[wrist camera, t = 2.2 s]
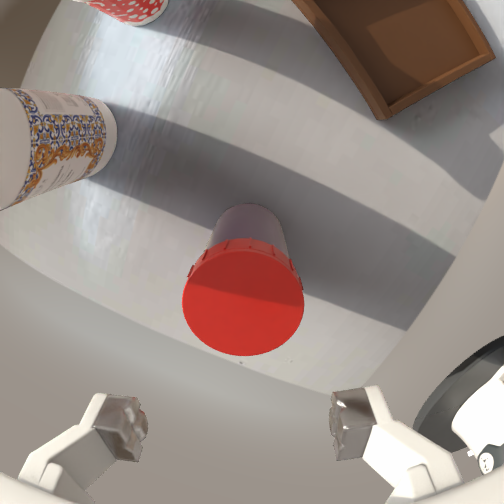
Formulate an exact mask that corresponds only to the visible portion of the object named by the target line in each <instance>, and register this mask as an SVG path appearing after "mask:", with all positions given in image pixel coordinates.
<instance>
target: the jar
mask: <svg viewBox="0 0 504 504" xmlns="http://www.w3.org/2000/svg"><path fill="white" fill-rule="evenodd" d="M250 237H251V238H252V239H255V240H259V241H263V242H266V243H268V244H270V245H272V244H273V245H274V246H275V247H276V248H277V249H279V250H280V251H281V252H283V253H284V254H285V255H286V256H287V257H288V259H290V258H289V254H288V250H287V246H286V242H285V238H284V234H283V231H282V227H281V224H280V222H279V220H278V219H277V217H276V216H275V215H274V214H273V213H272V212H271V211H270V210H268V209H267V208H265V207H263V206H261V205H257V204H252V203H243V204H238V205H235V206H233V207H231V208H229V209H227V210H226V211H225V212H224V213H223V214H222V215H221V216H220V217H219V219H218V220H217V222H216V224H215V227H214V229H213V231H212V234H211V236H210V238H209V241H208V243H207V245H206V248H205V250H206V249H210V248H211V247H213V246H215V245H216V244H219V243H221V242H223V241H225V240H226V239H228V240H231V239H238V238H248V239H249V238H250ZM205 250H204V252H205ZM204 252H203V253H204Z"/></svg>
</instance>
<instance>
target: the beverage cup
mask: <svg viewBox="0 0 504 504" xmlns="http://www.w3.org/2000/svg"><path fill="white" fill-rule="evenodd" d="M71 1H78V2H84V3H86V4H88V5H90V6H92V7H94V8H96V9H98V10H100V11H102V12H104V13H106V14H108V15H109V16H111V17H113V18H115V19H117V20H119V21H121V22H122V23H124V24H127V25H131V26H140V25H145V24H147V23H150V22H152V21H154V20H155V19H156V18H157V17H159V16H160V15H161V14H162V13H163V12H164V10H165V8H166V7H167V5H168V0H71Z"/></svg>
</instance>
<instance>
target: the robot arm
mask: <svg viewBox="0 0 504 504" xmlns="http://www.w3.org/2000/svg"><path fill="white" fill-rule="evenodd" d="M331 402H332V407H331V408H330V412H329V424H330V431H331V435H332V436H334V437H335V440H334V445H333V446H334V450H335V454H336V459H337V461H341V460H348V459H354V458H360V457H362V459H363V460H365V461H366V462H367V463H368V464H369V465H370V466H371V467H372V468H373V469H374V470H376V472H378V473H379V474H380V475H381V476H382V477H383V478H384V479H385V480H386V481H387V482H389V483H390V484H391V485H392V486H393V487H394V488H395V489H394V491H393V492H392V494H391V495H390V497H389V498H388V500H387V501H386V503H385V504H504V365H503V366H502V367H501V368H500V369H499V370H498V371H497V372H496V374H495V375H494V376H493V377H492V378H491V379H490V380H489V381H488V382H487V383H486V384H484V385H483V386H482V387H481V388H479V389H478V390H477V391H476V392H475V393H474V394H473V395H472V396H471V397H470V398H469V399H468V400H467V401H466V402H465V403H464V404H463V405H462V407H461V408H460V409H459V411H458V412H457V414H456V415H455V417H454V419H453V421H452V426H451V428H452V431H453V432H454V433H456V434H457V435H458V436H459V437H460V438H461V439H462V440H463V441H464V442H465V444H466V445H467V446H468V447H469V449H470V450H471V451H469V452H468V454H469V456H471V455H473V454H474V456H475V457H476V459H477V461H478V464H479V468H480V471H481V473H482V476H480V477H478V478H476V479H474V480H471V481H469V482H467V483H464V481H463V479H462V476H461V474H460V472H459V469H458V467H457V465H456V463H455V461H454V458H453V456H452V454H451V453H450V452H449V451H447V450H445V449H444V448H442V447H440V446H439V445H437V444H435V443H434V442H432V441H431V440H429V439H427V438H426V437H424V436H423V435H421V434H419V433H418V432H416V431H415V430H413V429H412V428H410V427H408V426H407V425H405V424H404V423H402V422H401V421H399V420H396V421H394V419H393V417H392V414H391V412H390V409H389V407H388V405H387V402H386V400H385V397H384V395H383V393H382V390H381V388H380V386H379V385H374V386H368V387H363V388H362V387H361V388H355V389H349V390H343V391H336V392H333V393H332V396H331ZM140 405H141V404H140V402H139V400H138V398H135V397H128V396H120V395H112V394H103V393H96V394H95V395H94V396H93V398H92V400H91V402H90V404H89V406H88V408H87V410H86V412H85V414H84V416H83V418H82V420H81V422H80V424H79V425H75V426H73V427H71V428H70V429H69V430H67V431H65V432H63V433H62V434H60V435H59V436H57V437H56V438H54V439H53V440H51V441H50V442H48V443H47V444H45V445H43V446H42V447H40V448H39V449H37V450H35V451H34V452H32V453H30V455H29V457H28V458H27V461H26V462H25V464H24V467H23V468H22V470H21V472H20V474H19V476H18V478H17V479H14V478H13V477H10V476H8V475H6V474H4V473H2V472H0V504H94V503H95V501H94V499H93V498H92V497H91V496H90V495H89V494H88V493H87V492H86V491H85V490H86V489H87V488H88V487H89V486H90V485H91V484H92V483H93V482H94V481H96V480H97V478H99V477H100V476H101V475H102V474H103V473H104V472H105V471H106V470H107V469H108V468H109V467H110V466H111V465H113V464H114V463H115V462H116V459H118V460H125V461H133V462H139V459H140V455H141V452H142V448H143V447H142V445H141V443H140V442H141V441H142V440H144V439H145V438H146V435H147V431H148V422H147V417H146V415H145V413H144V412H143V411H141V410H140V409H139V408H140Z"/></svg>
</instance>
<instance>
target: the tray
mask: <svg viewBox="0 0 504 504" xmlns="http://www.w3.org/2000/svg"><path fill="white" fill-rule="evenodd" d="M292 1H293V2H294V4H295V5H296V6H297V7H298V8H299V9H300V11H301V12H302V13H303V14H304V15H305V17H306V18H307V19H308V20H309V22H310V23H311V24H312V25H313V27H314V28H315V29H316V30H317V32H318V33H319V34H320V36H321V37H322V38H323V39H324V41H325V42H326V43H327V45H328V46H329V47H330V49H331V50H332V52H333V53H334V54H335V56H336V57H337V58H338V60H339V61H340V63H341V64H342V66H343V67H344V68H345V70H346V71H347V73H348V74H349V76H350V77H351V79H352V80H353V82H354V83H355V85H356V86H357V88H358V90H359V91H360V93H361V94H362V96H363V97H364V99H365V101H366V102H367V104H368V106H369V107H370V109H371V110H372V112H373V114H374V116H375V117H376V119H377V120H384V119H388V118H390V117H392V116H393V115H395V114H397V113H398V112H400V111H402V110H403V109H405V108H407V107H409V106H410V105H412V104H414V103H415V102H417V101H419V100H421V99H422V98H424V97H426V96H428V95H429V94H431V93H433V92H435V91H436V90H438V89H440V88H442V87H444V86H445V85H447V84H449V83H451V82H453V81H454V80H456V79H458V78H460V77H462V76H463V75H465V74H467V73H469V72H471V71H473V70H474V69H476V68H478V67H480V66H482V65H484V64H486V63H488V62H490V61H491V60H493V59H495V58H496V57H495V55H494V53H493V51H492V49H491V47H490V45H489V43H488V41H487V40H486V38H485V36H484V34H483V32H482V31H481V29H480V27H479V26H478V24H477V22H476V21H475V19H474V17H473V16H472V14H471V13H470V11H469V9H468V8H467V6H466V5H465V3H464V2H463V0H292Z"/></svg>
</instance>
